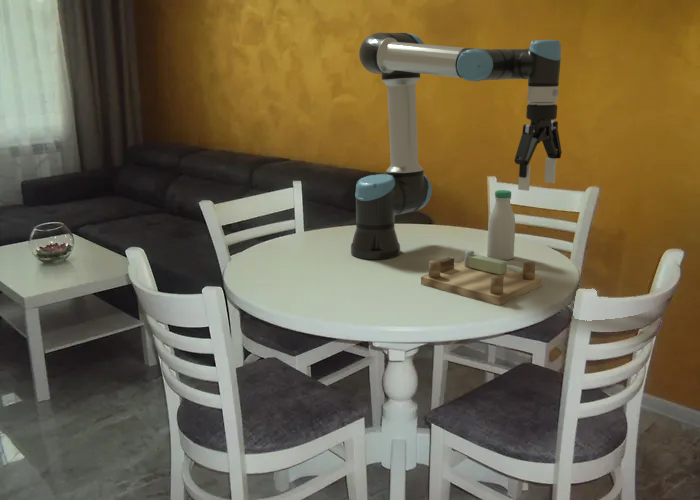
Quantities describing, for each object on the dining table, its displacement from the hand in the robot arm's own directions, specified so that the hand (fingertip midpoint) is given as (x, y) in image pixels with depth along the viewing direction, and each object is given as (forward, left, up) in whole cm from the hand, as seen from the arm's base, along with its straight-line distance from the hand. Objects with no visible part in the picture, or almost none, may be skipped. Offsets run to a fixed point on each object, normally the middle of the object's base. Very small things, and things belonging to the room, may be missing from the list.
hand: (536, 186), depth 177 cm
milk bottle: (-16, +9, -25) cm, 31 cm away
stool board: (-6, -16, -24) cm, 30 cm away
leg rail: (-9, -10, -22) cm, 26 cm away
